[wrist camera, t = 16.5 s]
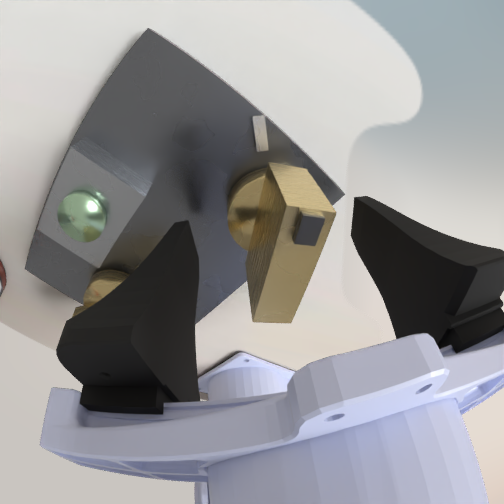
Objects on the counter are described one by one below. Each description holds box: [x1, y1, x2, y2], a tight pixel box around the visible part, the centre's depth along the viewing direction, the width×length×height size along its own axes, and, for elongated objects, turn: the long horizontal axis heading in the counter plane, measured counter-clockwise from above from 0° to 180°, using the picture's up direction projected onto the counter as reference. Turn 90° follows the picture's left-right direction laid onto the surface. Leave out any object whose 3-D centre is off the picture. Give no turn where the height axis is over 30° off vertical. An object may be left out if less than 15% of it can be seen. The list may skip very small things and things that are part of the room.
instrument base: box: [25, 28, 345, 324], centre depth 14 cm, size 12×16×3 cm
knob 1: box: [72, 270, 130, 317], centre depth 14 cm, size 5×4×5 cm
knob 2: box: [227, 162, 336, 323], centre depth 12 cm, size 5×4×5 cm
